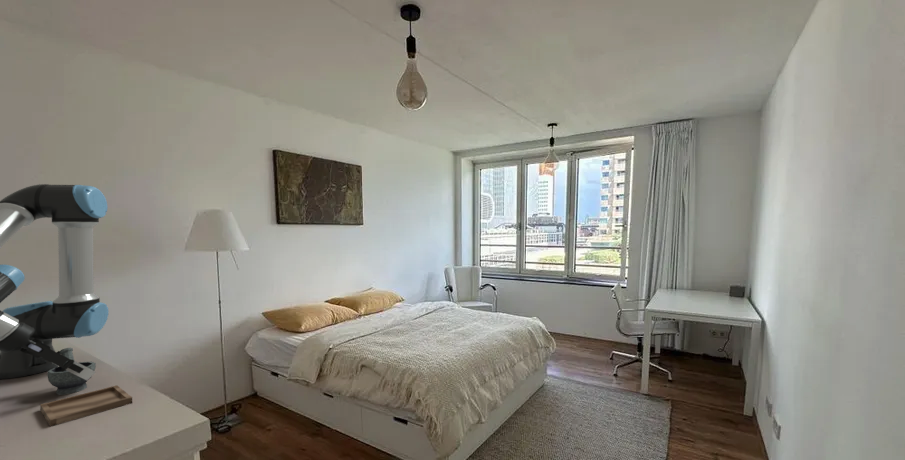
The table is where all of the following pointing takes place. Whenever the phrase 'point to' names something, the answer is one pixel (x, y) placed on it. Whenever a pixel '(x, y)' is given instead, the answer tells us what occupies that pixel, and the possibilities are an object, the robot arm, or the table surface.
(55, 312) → the robot arm
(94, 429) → the table surface
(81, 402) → the walnut tray
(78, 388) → the mortar and pestle
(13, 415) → the table surface
